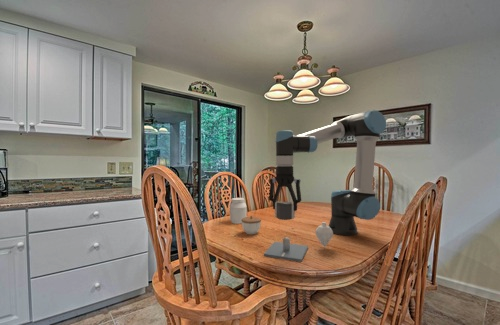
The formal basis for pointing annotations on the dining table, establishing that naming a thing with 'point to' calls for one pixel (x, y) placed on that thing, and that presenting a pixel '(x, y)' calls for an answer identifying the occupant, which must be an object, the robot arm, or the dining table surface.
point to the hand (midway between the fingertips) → (285, 217)
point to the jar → (237, 210)
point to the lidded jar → (251, 224)
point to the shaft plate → (286, 250)
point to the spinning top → (324, 234)
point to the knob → (284, 210)
